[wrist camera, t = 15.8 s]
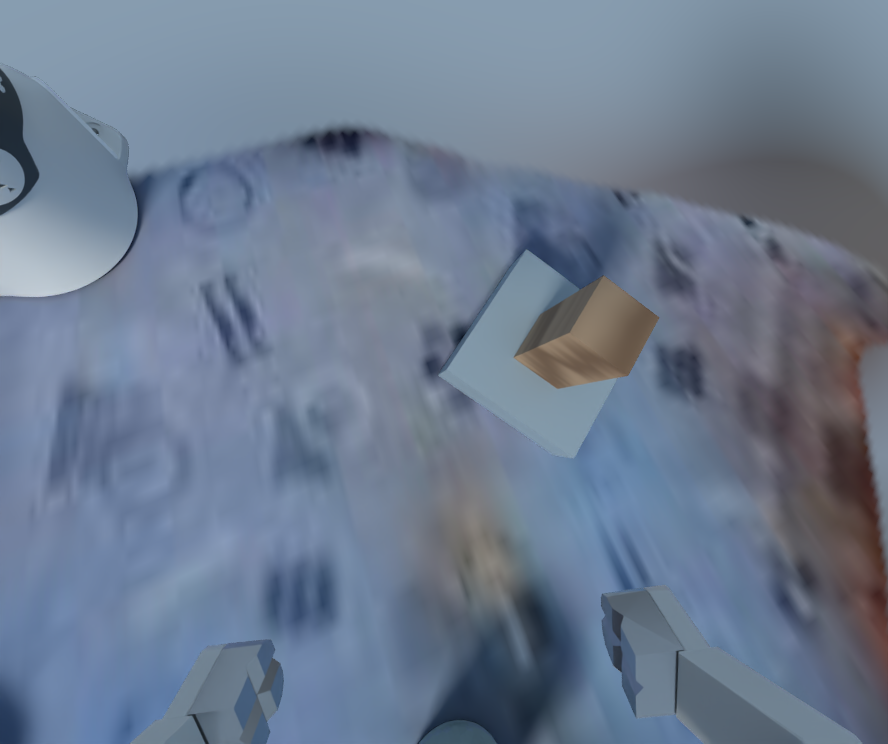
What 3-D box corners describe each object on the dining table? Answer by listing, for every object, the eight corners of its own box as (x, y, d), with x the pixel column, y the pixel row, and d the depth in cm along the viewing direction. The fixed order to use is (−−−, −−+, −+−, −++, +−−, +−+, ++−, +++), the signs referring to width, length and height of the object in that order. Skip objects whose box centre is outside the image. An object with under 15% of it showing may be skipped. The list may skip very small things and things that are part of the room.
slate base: (437, 375, 39) (446, 369, 35) (511, 265, 42) (526, 249, 38) (553, 455, 40) (573, 458, 37) (615, 343, 44) (641, 335, 40)
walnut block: (513, 357, 37) (569, 332, 27) (540, 314, 38) (603, 275, 28) (557, 389, 37) (628, 375, 27) (582, 345, 38) (659, 317, 28)
